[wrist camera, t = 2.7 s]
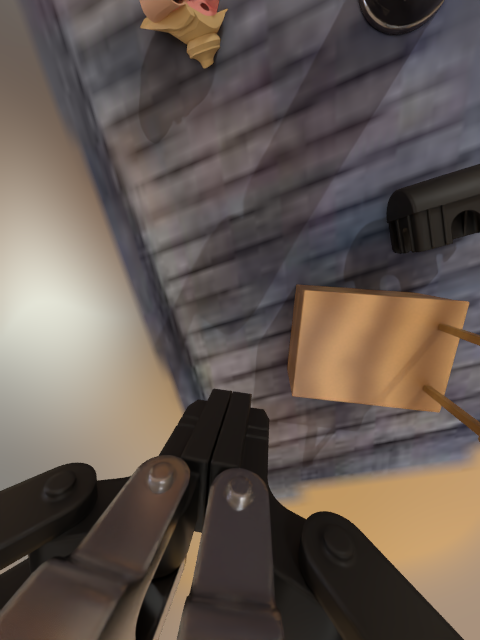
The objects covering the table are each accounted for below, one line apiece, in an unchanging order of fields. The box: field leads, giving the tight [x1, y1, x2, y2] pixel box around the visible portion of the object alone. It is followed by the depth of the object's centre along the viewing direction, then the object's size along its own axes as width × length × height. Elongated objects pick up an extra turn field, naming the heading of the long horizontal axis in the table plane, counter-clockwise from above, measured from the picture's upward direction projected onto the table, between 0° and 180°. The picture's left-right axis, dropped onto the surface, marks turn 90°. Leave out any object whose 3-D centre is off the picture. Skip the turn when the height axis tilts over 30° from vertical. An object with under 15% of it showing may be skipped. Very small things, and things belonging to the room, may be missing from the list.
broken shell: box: [140, 0, 228, 68], centre depth 27 cm, size 9×10×10 cm
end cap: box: [387, 164, 480, 254], centre depth 27 cm, size 10×7×7 cm
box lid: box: [292, 290, 480, 442], centre depth 23 cm, size 16×13×10 cm
